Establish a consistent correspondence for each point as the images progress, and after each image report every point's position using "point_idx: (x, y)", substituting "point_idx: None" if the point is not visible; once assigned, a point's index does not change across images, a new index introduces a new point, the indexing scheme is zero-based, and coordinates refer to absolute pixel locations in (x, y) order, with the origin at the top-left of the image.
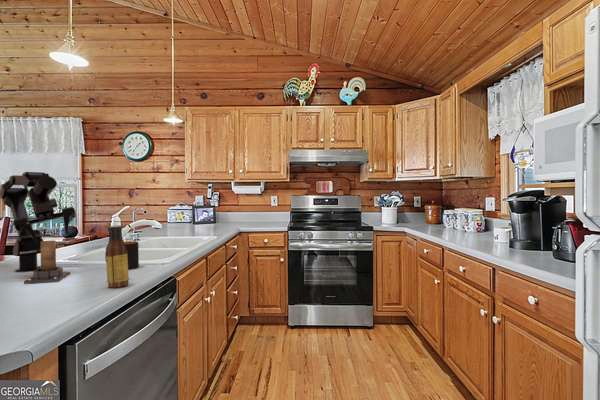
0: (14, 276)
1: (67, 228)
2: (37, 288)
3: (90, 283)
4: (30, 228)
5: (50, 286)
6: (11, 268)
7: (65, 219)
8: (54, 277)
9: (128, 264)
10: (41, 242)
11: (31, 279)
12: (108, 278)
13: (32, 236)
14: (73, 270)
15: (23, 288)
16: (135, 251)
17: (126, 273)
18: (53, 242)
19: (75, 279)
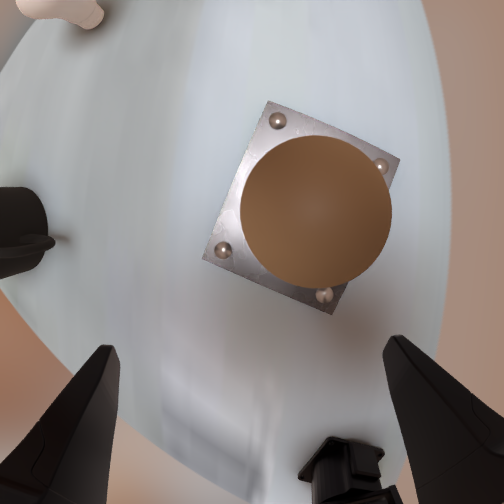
0: None
1: (62, 394)
2: (345, 43)
3: (169, 14)
4: (502, 449)
5: (301, 43)
6: None
7: (9, 500)
8: (281, 127)
9: (8, 187)
10: (383, 181)
11: (374, 160)
12: None
13: (453, 380)
14: (187, 340)
15: (392, 80)
16: None
17: None
18: (267, 154)
19: (200, 111)
